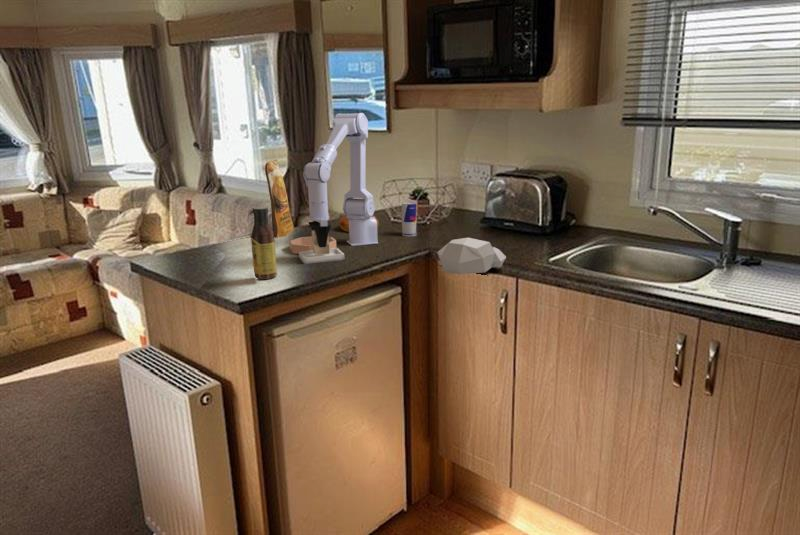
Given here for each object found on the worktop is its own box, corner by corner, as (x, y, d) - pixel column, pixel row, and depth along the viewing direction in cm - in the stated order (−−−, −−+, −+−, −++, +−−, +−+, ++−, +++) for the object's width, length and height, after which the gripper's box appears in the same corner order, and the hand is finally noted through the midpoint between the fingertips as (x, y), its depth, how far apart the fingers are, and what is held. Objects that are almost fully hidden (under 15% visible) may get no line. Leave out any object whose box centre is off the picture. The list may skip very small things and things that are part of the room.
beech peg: (326, 250, 191) (325, 229, 189) (329, 253, 187) (328, 231, 185) (312, 252, 190) (311, 230, 188) (315, 255, 186) (314, 232, 184)
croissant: (366, 226, 241) (365, 206, 239) (384, 232, 228) (384, 211, 226) (333, 230, 234) (332, 210, 232) (350, 236, 221) (349, 215, 219)
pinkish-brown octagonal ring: (330, 243, 211) (329, 234, 210) (339, 251, 197) (339, 242, 196) (288, 247, 206) (287, 238, 205) (295, 256, 193) (294, 247, 192)
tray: (337, 253, 195) (337, 248, 195) (344, 259, 186) (344, 254, 186) (299, 257, 191) (298, 251, 191) (304, 263, 182) (303, 258, 182)
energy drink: (415, 237, 217) (414, 204, 214) (400, 237, 218) (400, 204, 215) (418, 234, 222) (417, 202, 219) (403, 234, 223) (403, 201, 220)
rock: (436, 262, 182) (436, 230, 179) (503, 261, 181) (504, 229, 178) (437, 278, 164) (437, 243, 162) (511, 277, 163) (512, 242, 161)
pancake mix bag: (264, 240, 218) (258, 162, 211) (281, 230, 236) (276, 158, 229) (282, 240, 217) (276, 162, 210) (298, 230, 235) (293, 158, 228)
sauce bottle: (256, 275, 171) (250, 205, 166) (278, 274, 172) (273, 204, 167) (252, 281, 165) (246, 209, 160) (275, 280, 165) (270, 208, 160)
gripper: (301, 199, 190) (304, 242, 193) (309, 206, 176) (312, 251, 180) (323, 198, 192) (325, 240, 195) (333, 204, 179) (335, 249, 182)
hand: (320, 245), depth 188 cm, fingers closed on beech peg, 4 cm apart
